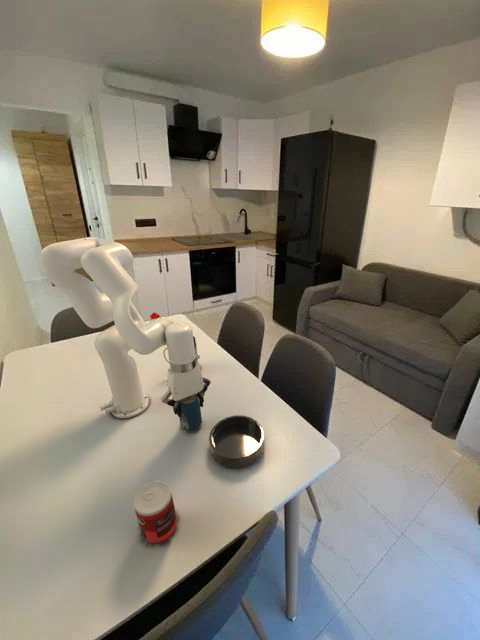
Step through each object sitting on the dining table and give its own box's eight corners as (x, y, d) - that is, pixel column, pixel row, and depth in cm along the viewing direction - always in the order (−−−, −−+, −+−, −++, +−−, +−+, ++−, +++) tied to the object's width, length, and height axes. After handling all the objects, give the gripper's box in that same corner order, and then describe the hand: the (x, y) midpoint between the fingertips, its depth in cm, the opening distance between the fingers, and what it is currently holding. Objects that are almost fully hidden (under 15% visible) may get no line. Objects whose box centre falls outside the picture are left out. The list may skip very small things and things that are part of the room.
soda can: (202, 417, 100) (199, 389, 95) (202, 432, 94) (198, 403, 89) (181, 419, 99) (177, 391, 94) (180, 435, 93) (175, 406, 88)
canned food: (147, 511, 71) (139, 481, 67) (180, 508, 72) (174, 478, 67) (137, 546, 64) (127, 516, 60) (174, 543, 65) (167, 512, 60)
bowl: (227, 480, 79) (226, 468, 77) (201, 441, 91) (200, 430, 89) (274, 450, 88) (274, 439, 86) (245, 418, 100) (244, 408, 98)
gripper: (204, 349, 94) (208, 393, 101) (149, 367, 84) (159, 414, 92) (215, 359, 88) (218, 404, 96) (158, 380, 79) (167, 428, 86)
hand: (189, 409), depth 94 cm, fingers closed on soda can, 7 cm apart
